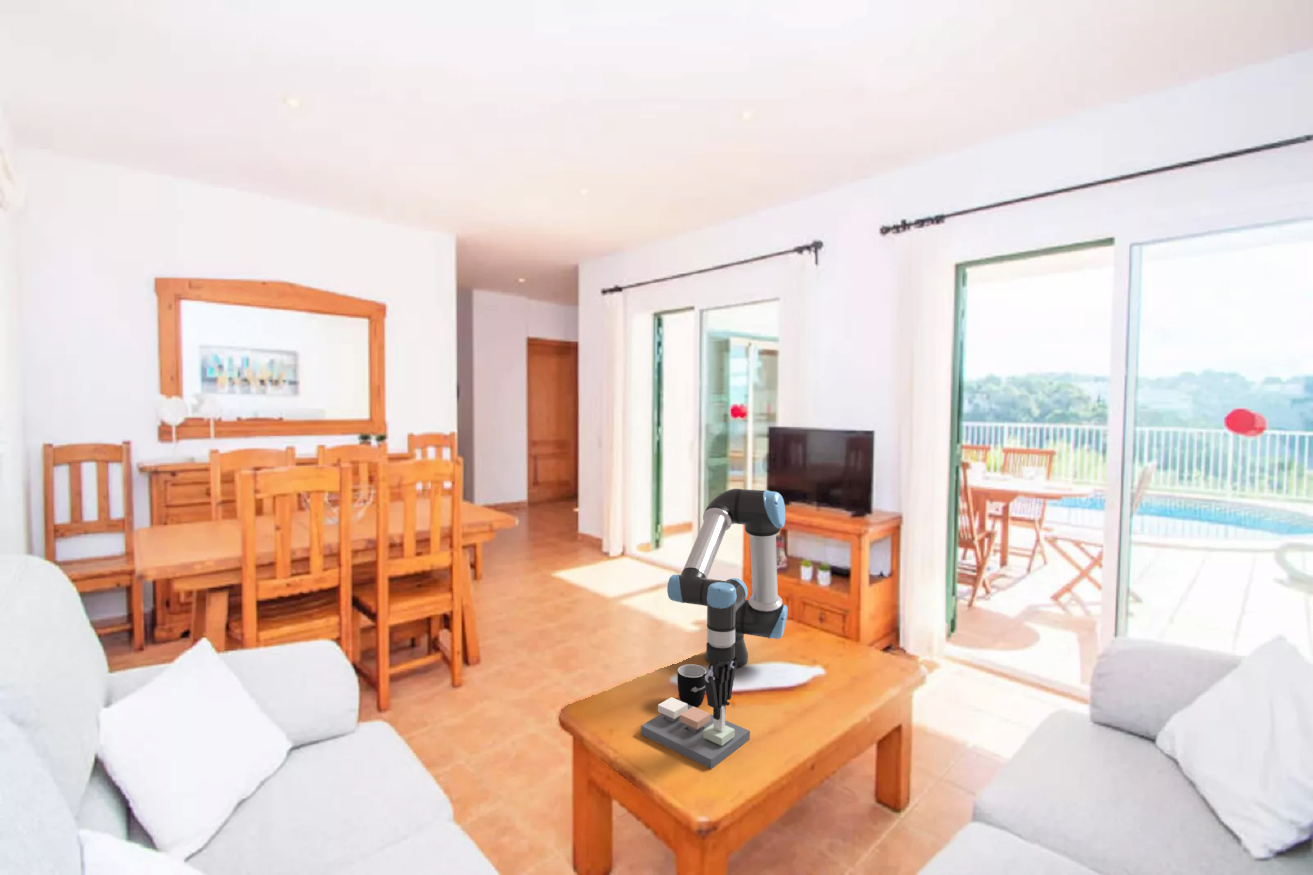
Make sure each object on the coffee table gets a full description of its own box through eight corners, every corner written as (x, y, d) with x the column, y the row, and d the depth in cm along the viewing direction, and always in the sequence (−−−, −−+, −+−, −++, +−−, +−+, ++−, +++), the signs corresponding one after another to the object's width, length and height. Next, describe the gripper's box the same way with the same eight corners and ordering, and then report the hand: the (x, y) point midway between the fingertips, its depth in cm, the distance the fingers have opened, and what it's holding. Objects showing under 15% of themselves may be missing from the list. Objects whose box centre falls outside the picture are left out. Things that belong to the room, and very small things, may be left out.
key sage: (716, 737, 168) (716, 721, 167) (734, 745, 164) (734, 729, 164) (703, 746, 163) (703, 730, 163) (721, 755, 159) (722, 738, 159)
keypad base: (681, 709, 183) (681, 701, 183) (749, 739, 168) (749, 730, 168) (640, 734, 170) (641, 725, 170) (711, 769, 154) (711, 759, 154)
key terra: (693, 721, 173) (693, 706, 173) (710, 729, 169) (710, 713, 169) (679, 730, 168) (680, 714, 168) (697, 738, 164) (697, 722, 164)
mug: (689, 713, 182) (689, 679, 181) (671, 700, 189) (671, 668, 188) (719, 701, 189) (720, 669, 188) (700, 690, 196) (701, 659, 195)
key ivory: (671, 712, 178) (671, 697, 178) (687, 719, 174) (687, 704, 174) (657, 720, 174) (657, 704, 173) (674, 727, 170) (674, 712, 169)
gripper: (723, 632, 169) (721, 714, 171) (694, 646, 159) (693, 733, 161) (746, 639, 164) (744, 724, 166) (718, 654, 154) (716, 744, 156)
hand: (719, 728), depth 163 cm, fingers closed
